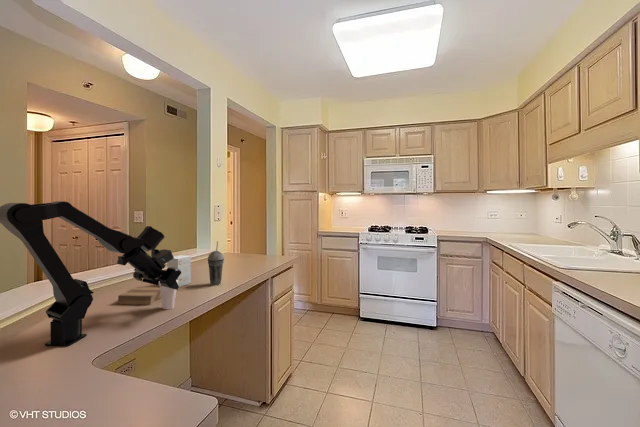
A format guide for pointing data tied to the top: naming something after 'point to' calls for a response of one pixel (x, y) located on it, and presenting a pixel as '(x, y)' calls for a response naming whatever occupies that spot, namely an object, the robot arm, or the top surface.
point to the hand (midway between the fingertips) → (171, 287)
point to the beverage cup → (215, 266)
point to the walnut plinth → (140, 296)
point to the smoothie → (167, 296)
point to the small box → (182, 268)
